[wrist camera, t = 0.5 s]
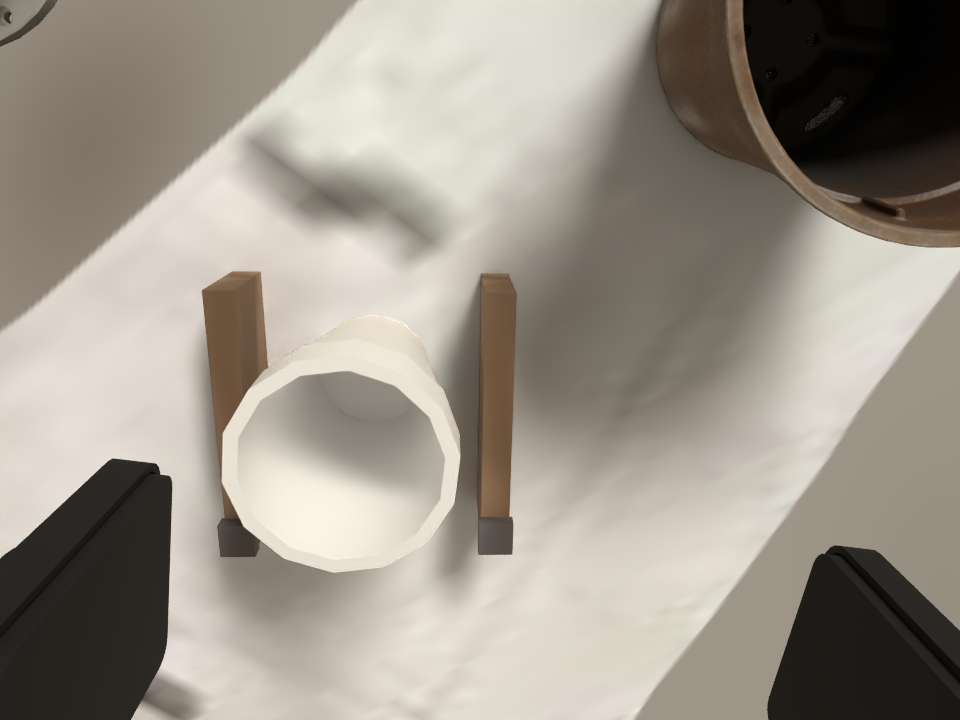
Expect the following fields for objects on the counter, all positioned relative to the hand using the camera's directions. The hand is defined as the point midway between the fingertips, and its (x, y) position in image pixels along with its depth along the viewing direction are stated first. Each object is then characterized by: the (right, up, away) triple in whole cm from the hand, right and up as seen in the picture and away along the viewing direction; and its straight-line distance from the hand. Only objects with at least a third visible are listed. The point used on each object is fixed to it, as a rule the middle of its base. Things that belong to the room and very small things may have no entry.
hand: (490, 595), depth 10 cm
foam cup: (-6, +3, +31) cm, 31 cm away
